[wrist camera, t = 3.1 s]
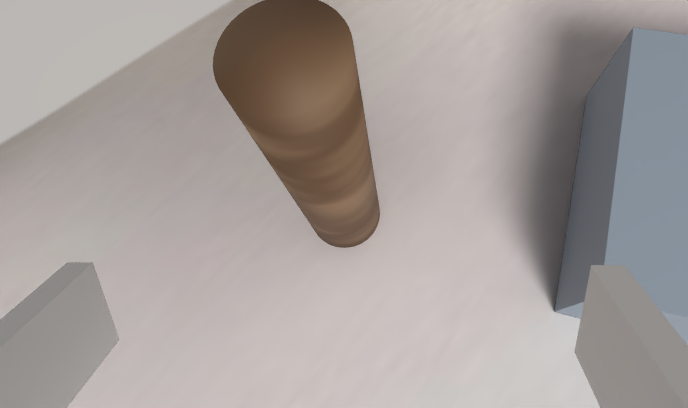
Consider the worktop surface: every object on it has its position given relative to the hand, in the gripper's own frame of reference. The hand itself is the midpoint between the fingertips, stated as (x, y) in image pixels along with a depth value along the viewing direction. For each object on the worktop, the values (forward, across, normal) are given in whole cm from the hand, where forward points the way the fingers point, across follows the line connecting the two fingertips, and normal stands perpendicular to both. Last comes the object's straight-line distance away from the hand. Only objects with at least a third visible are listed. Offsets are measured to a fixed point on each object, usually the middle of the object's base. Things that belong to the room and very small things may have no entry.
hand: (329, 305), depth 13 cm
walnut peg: (+14, -1, -4) cm, 15 cm away
